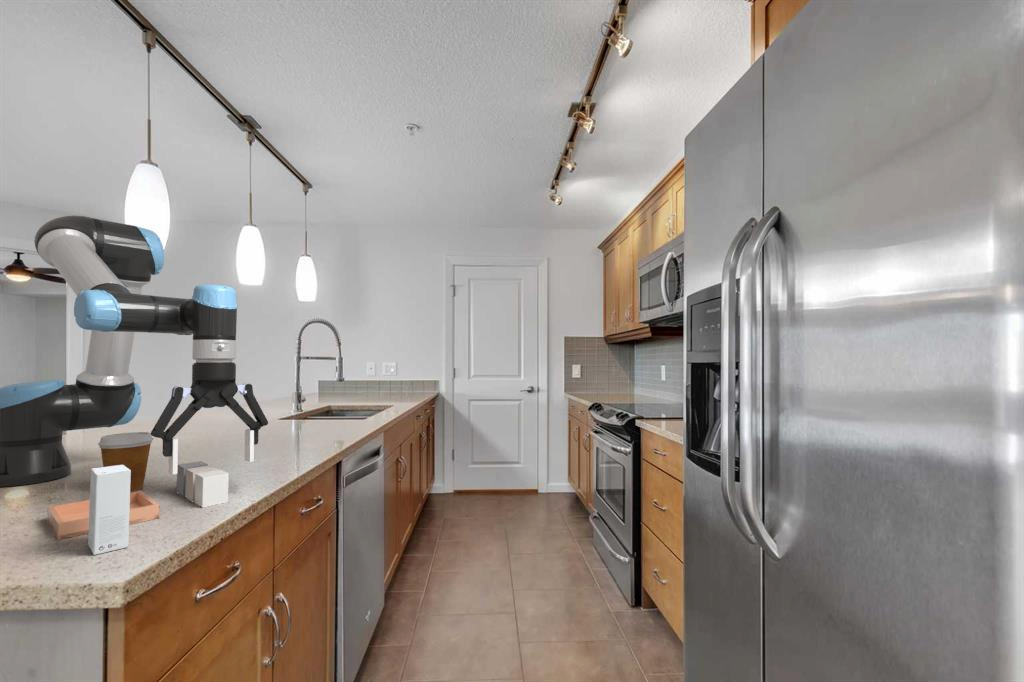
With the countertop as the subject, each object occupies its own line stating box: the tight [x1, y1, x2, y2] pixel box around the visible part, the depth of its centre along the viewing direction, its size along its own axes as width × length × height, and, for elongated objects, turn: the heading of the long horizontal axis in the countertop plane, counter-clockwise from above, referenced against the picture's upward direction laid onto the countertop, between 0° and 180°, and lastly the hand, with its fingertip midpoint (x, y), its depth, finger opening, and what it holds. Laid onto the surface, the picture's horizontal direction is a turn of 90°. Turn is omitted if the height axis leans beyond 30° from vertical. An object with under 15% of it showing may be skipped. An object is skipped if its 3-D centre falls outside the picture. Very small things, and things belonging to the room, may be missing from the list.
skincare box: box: [87, 465, 131, 556], centre depth 74 cm, size 6×4×12 cm
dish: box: [46, 490, 160, 541], centre depth 85 cm, size 13×13×2 cm
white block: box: [194, 469, 230, 508], centre depth 95 cm, size 4×4×6 cm
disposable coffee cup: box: [97, 431, 154, 492], centre depth 104 cm, size 10×10×12 cm
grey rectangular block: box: [176, 461, 209, 497], centre depth 103 cm, size 4×4×6 cm
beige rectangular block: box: [184, 464, 219, 502], centre depth 99 cm, size 4×4×6 cm
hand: (213, 466), depth 95 cm, fingers open, 13 cm apart
